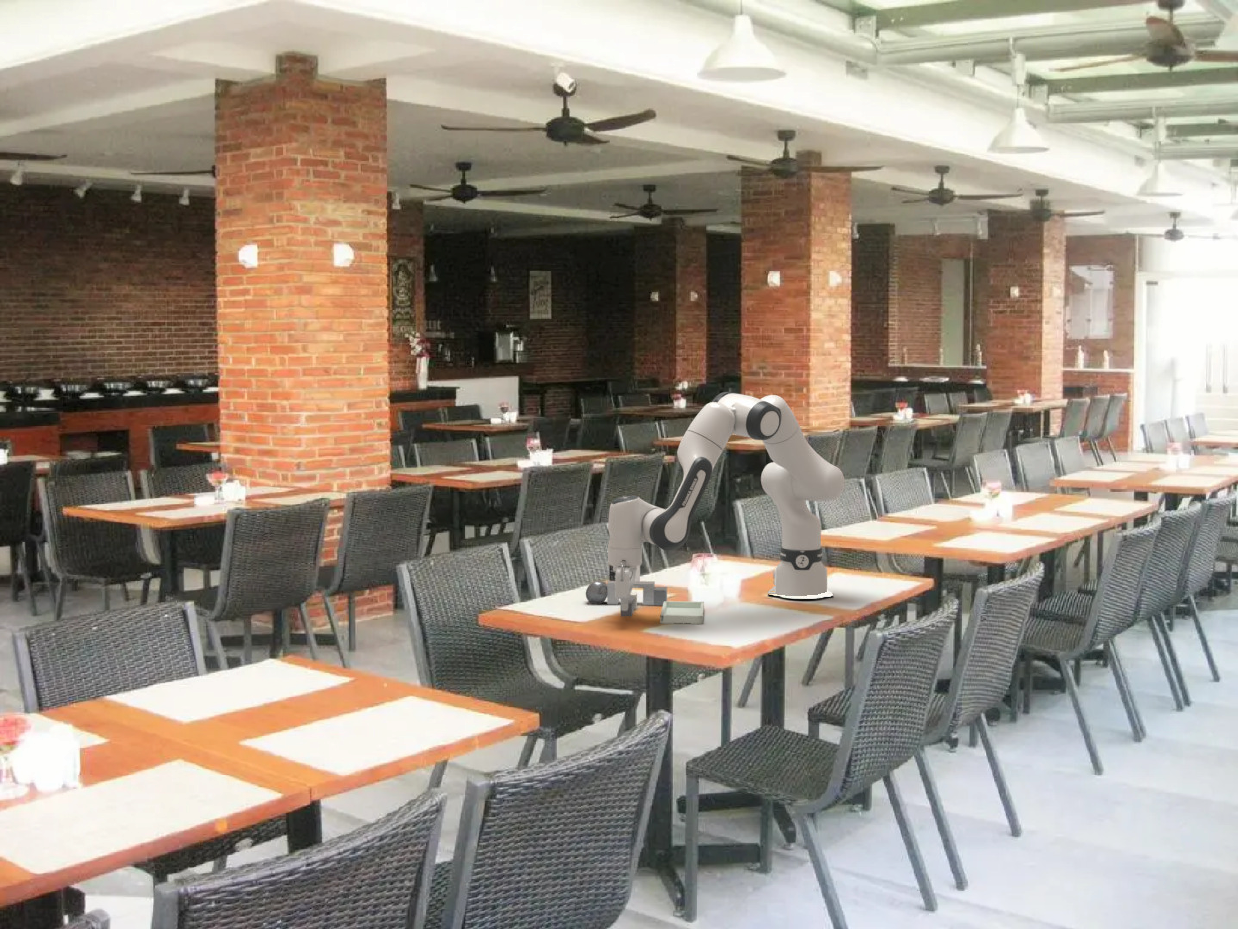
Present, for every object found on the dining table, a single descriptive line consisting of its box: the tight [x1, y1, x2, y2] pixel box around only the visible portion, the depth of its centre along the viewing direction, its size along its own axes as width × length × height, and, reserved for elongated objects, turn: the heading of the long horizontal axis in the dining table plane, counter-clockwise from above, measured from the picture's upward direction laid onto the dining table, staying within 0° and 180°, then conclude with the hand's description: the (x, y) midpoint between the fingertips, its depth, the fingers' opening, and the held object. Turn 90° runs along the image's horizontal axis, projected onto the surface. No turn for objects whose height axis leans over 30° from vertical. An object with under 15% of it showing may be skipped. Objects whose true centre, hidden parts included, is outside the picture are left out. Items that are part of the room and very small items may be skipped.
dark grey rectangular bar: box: [620, 591, 638, 617], centre depth 362 cm, size 14×4×4 cm, turn 175°
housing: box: [585, 579, 668, 607], centre depth 373 cm, size 5×22×6 cm, turn 85°
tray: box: [659, 600, 705, 625], centre depth 356 cm, size 20×11×2 cm, turn 175°
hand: (624, 609), depth 350 cm, fingers closed
